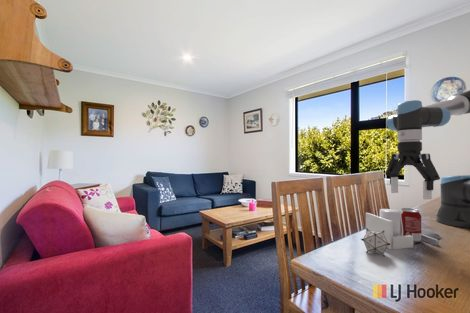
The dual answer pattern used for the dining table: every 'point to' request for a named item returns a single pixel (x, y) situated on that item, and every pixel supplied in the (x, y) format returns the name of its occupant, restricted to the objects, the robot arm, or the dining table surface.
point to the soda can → (411, 223)
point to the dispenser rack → (393, 229)
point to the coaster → (430, 234)
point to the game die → (375, 242)
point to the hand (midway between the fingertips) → (409, 195)
